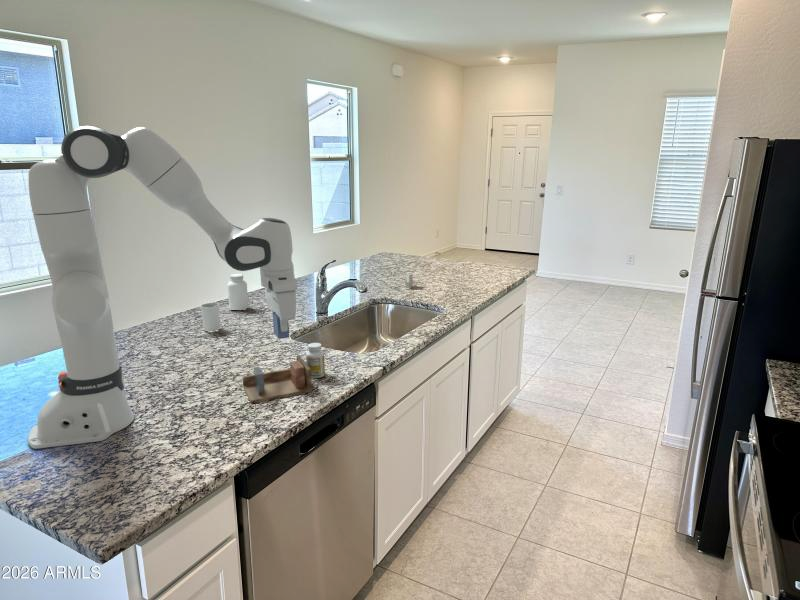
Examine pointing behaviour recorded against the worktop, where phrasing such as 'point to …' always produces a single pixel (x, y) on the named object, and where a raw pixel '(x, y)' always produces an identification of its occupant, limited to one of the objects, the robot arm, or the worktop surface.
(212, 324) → the drinking glass
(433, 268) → the worktop surface
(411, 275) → the architectural model
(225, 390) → the worktop surface
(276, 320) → the blue block
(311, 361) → the supplement bottle
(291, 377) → the rack
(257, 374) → the bookend
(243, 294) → the pill bottle
